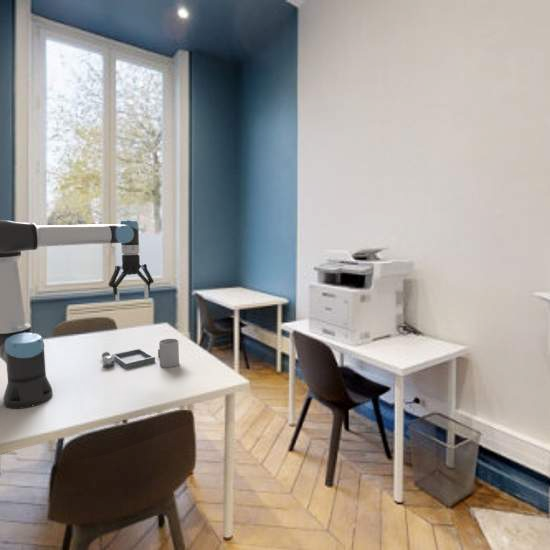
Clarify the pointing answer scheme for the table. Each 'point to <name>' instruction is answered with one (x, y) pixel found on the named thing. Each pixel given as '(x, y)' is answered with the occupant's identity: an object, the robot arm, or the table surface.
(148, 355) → the tray
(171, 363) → the mug
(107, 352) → the rubber ball
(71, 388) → the table surface
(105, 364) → the chrome bearing sphere
